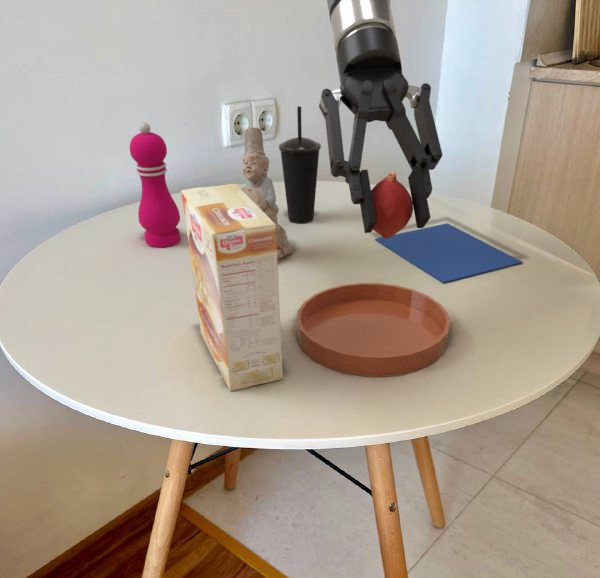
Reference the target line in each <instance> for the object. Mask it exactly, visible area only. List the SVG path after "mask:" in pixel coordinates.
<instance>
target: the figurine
mask: <svg viewBox="0 0 600 578" xmlns="http://www.w3.org/2000/svg"><path fill="white" fill-rule="evenodd" d="M242 164H243V168H242V175H243V177H245V178H246V181H245V185H244V186H242V187H240V189H241V190H242V191H243V192H244V193H245V194H246V195H247V196H248V197H249V198H250V199H251V200H252V201H253V202H254V203H255V204H256V205H257V206H258V207H259V208H260V209H261V210H262V211H263V212H264V213H265V214H266V215H267V216H268V217H269V218H270V219H271V220H272V221H273V222H274V223H275V224H276V243H277V260H279V259H282V258H283V257H285V256H286V255H290V254H292V253H293V246H292V244H291V243H289V242H290V241H289V239H288V236H287V231H286V229H285V228H284V227H283V226H282V225H280V224H279V222H278V214H279V213H280V210H279V209H280V208H279V206H278V205H277V195H276V190H275V186H274V183H273V180H272V179H271V178H270V177H268V172H269V167H270V166H269V165H270V159H269V157H268V156H267V154H266V153H265V149H264V139H263V133H262V129H261V128H259V127H248V128H246V129H245V131H244V154H243V158H242Z"/></svg>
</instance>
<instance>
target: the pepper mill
mask: <svg viewBox="0 0 600 578" xmlns="http://www.w3.org/2000/svg"><path fill="white" fill-rule="evenodd" d="M138 130H139V133H137V134H135V135H134V136H133V137H132V138H131V140H130V142H129V153H130V156H131V158H132V160H133V161H134V162H135V163H136V164H135V169H136V174H137V175H138V176H139V178H140V183H141V197H140V202H139V206H138V212H137V213H138V214H137V216H138V223H139V225H140V226H141V227H142V228H143V229H144V233H143V235H144V242H145V244H146V245H147V246H148V247H151V246H152V247H151V248H168V247H167V246H169V247H172V246H174V244H175V245H177V244H178V243H180V241H181V234H180V233H181V232H180V230H179V228H177V227H178V225H179V223H180V221H181V215H180V214H181V213H180V210H179V208H178V205H177V204H176V202H175V200H174V198H173V196H172V195H171V193H170V190H169V188H168V184H167V180H166V173H167V172H168V169H167V167H166V166H167V163H166V162H165V161H164V160H165V159H166V156H167V154H168V150H167V144H166V142H165V140H164V139H163V137H161V135H159V134H157V133H155V132H151V126H150V124H149V123H148V122H141V123H140V124H139V126H138ZM176 243H177V244H176ZM171 245H172V246H171Z"/></svg>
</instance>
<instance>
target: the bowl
mask: <svg viewBox="0 0 600 578" xmlns="http://www.w3.org/2000/svg"><path fill="white" fill-rule="evenodd" d="M450 328H451V320H450V317H449V313H448V311H447V310H446V309H445V308H444V307H443V306H442V304H441V303H440V302H438V301H437V300H435V299H433V298H432V297H431V296H429V295H427V294H425V293H423V292H421V291H418V290H416V289H412V288H408V287H405V286H402V285H401V286H400V285H396V284H389V283H383V282H382V283H380V282H359V283H348V284H347V283H346V284H341V285H337V286H334V287H329V288H326V289H324V290H321V291H318V292H317V293H315V294H313V295H311V296H310V297H309V298H308V299H306V300H305V301H303V302H302V304H301V306H300V307H299V308H298V310H297V315H296V336H297V340H298V344H299V346H300V348H301V349H302V351H303V352H304V353H305V355H307V356H308V357H309V358H310V359H312V360H313V361H315V362H317V363H318V364H320V365H322V366H324V367H326V368H328V369H331V370H334V371H337V372H341V373H345V374H349V375H354V376H362V377H393V376H400V375H405V374H410V373H413V372H417V371H419V370H422V369H424V368H426V367H428V366H430V365H432V364H433V363H435V362H436V361H437V360H438V359H439V358H441V356H442V355H443V353H444V352H445V350H446V348H447V345H448V340H449V335H450Z"/></svg>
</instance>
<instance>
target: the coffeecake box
mask: <svg viewBox="0 0 600 578" xmlns="http://www.w3.org/2000/svg"><path fill="white" fill-rule="evenodd" d="M180 194H181V200H182V206H183V213H184V219H185V228H186V233H187V240H188V241H187V242H188V249H189V255H190V262H191V269H192V270H191V271H192V277H193V283H194V284H193V285H194V292H195V299H196V305H197V313H198V319H199V329H200V335H201V337H202V339H203V341H204V343H205V345H206V347H207V349H208V351H209V353H210V354H211V357H212V359H213V360H214V363H215V365H216V366H217V369H218V370H219V372H220V374H221V376H222V378H223V380H224V382H225V384H226V386H227V388H228V389H229V391H230V392H233V391H239V390H242V389H247V388H251V387H254V386H258V385H262V384H268V383H273V382H277V381H281V380H283V379H284V373H283V371H284V370H283V353H282V352H283V351H282V333H281V331H282V330H281V329H282V328H281V310H280V309H281V307H280V289H279V288H280V287H279V285H280V284H279V268H278V266H279V265H278V259H277V243H276V224H275V223H274V222H273V221H272V220H271V219H270V218H269V217H268V216H267V215H266V214H265V213H264V212H263V211H262V210H261V209H260V208H259V207H258V206H257V205H256V204H255V203H254V202H253V201H252V200H251V199H250V198H249V197H248V196H247V195H246V194H245V193H244V192H243V191H242V190H241V187H240V186H239V185H238V184H237V183H228V184H222V185H221V184H220V185H215V186H214V185H211V186H203V187H202V186H199V187H193V188H186V189H182V190H180Z"/></svg>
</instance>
